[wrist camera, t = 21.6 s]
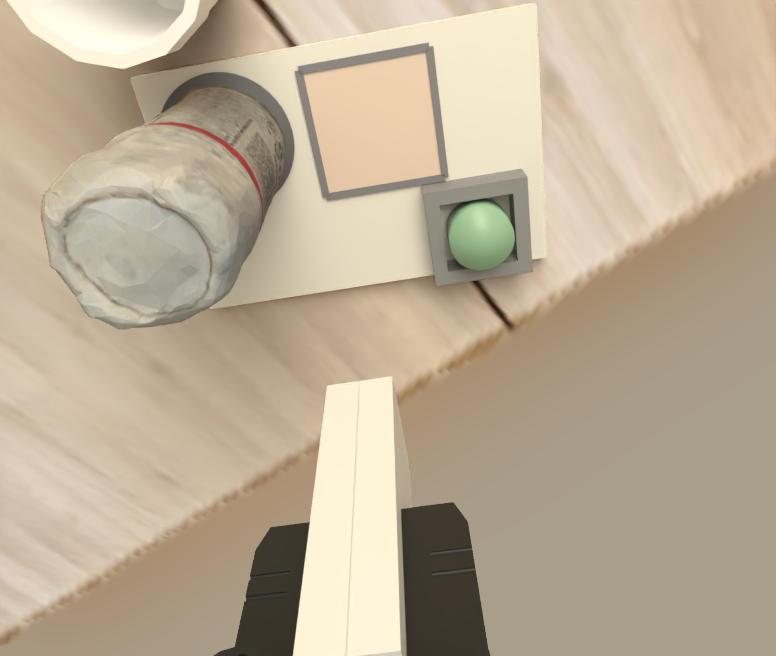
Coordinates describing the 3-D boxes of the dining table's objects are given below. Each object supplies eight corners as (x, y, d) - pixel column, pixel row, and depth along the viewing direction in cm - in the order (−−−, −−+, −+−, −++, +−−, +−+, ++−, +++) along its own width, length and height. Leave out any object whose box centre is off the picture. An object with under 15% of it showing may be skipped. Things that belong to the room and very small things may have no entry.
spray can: (215, 49, 39) (82, 111, 21) (317, 141, 42) (272, 261, 24) (141, 150, 42) (-28, 275, 24) (241, 228, 45) (153, 392, 27)
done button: (449, 260, 46) (453, 274, 43) (442, 202, 44) (446, 215, 41) (509, 250, 45) (516, 265, 43) (505, 192, 43) (512, 204, 41)
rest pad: (184, 217, 44) (183, 219, 44) (139, 85, 40) (137, 86, 40) (307, 196, 44) (307, 198, 43) (275, 60, 39) (274, 61, 39)
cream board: (213, 302, 49) (203, 322, 46) (135, 75, 41) (118, 83, 38) (543, 251, 47) (553, 268, 45) (532, 2, 39) (544, 5, 36)
